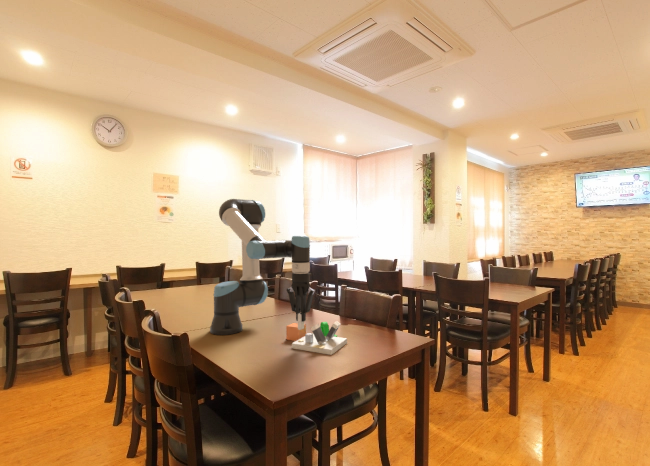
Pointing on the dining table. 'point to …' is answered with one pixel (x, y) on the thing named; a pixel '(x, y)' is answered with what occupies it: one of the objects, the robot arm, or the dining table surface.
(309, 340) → the post
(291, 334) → the cap
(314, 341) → the panel
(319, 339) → the lever tagged
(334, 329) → the lever plain
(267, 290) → the robot arm
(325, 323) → the mechanical part
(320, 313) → the dining table surface
